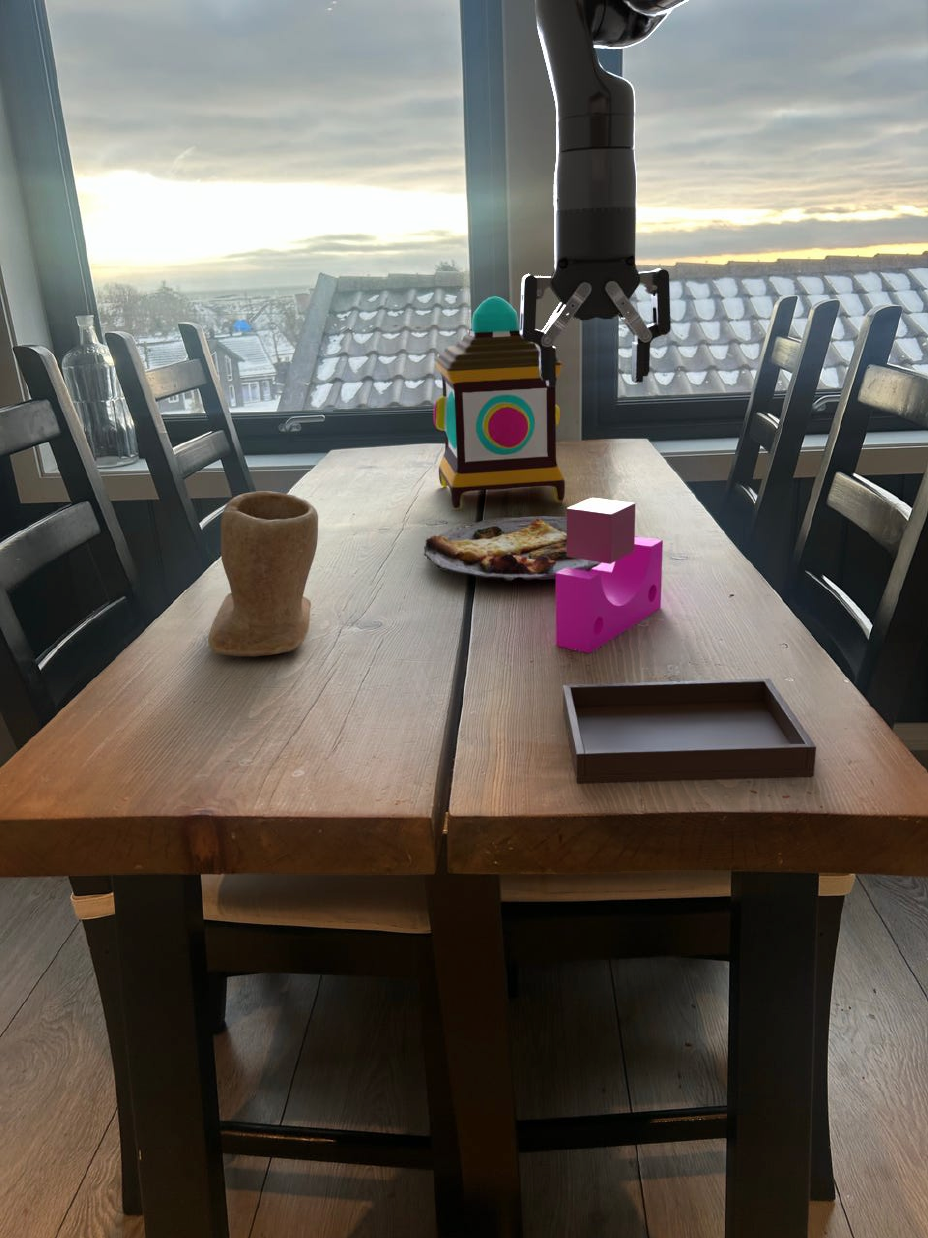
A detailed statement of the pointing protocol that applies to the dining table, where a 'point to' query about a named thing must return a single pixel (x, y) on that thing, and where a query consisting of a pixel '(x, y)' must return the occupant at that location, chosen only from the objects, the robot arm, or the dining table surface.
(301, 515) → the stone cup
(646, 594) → the toy block
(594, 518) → the cube
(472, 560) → the food plate
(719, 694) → the tray
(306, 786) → the dining table surface
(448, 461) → the decorative lantern
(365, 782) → the dining table surface
